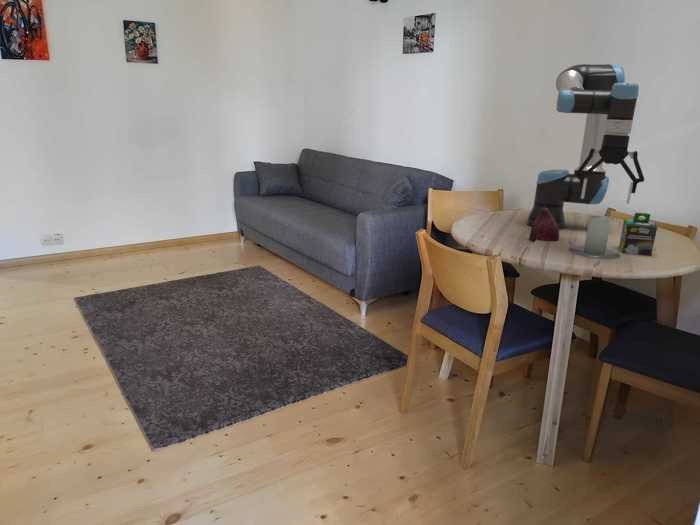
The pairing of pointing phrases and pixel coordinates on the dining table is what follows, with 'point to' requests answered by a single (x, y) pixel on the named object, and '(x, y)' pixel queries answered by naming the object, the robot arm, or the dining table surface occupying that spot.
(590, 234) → the grey-green rectangular block
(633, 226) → the chalk box
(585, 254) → the dish
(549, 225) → the vegetable
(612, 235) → the dining table surface
